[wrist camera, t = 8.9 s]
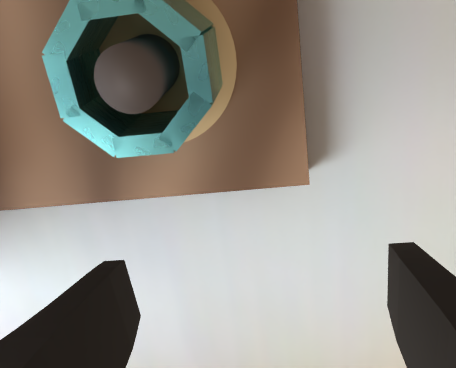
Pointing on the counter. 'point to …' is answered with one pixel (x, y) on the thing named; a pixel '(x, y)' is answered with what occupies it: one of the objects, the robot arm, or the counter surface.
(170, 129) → the ring
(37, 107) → the board
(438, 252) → the counter surface
